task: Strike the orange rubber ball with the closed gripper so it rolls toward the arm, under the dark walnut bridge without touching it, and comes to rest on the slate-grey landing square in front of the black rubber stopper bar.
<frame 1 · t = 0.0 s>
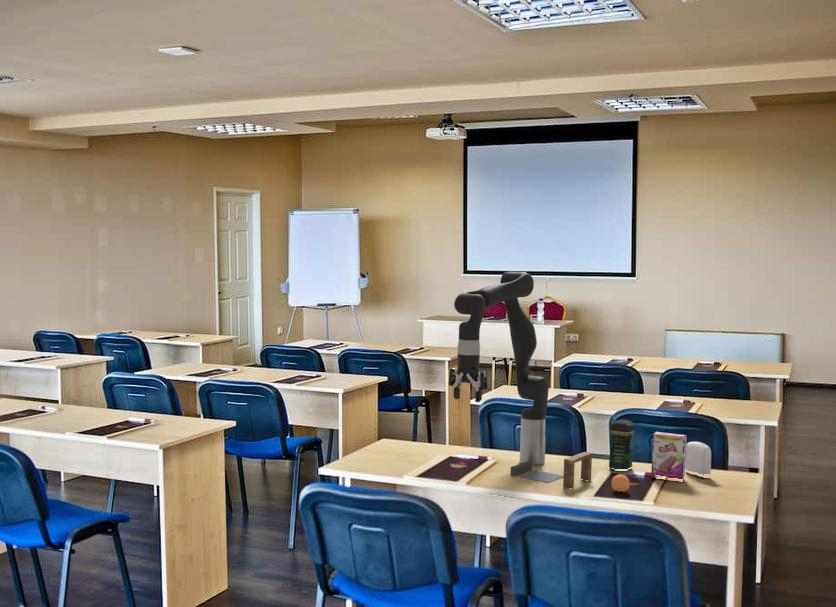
hand: (467, 400, 292), 29 cm above the table, tool pointing down, fingers open, 8 cm apart
candy bar box: (667, 480, 308), on the table
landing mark: (541, 476, 308), on the table
bridge: (577, 483, 299), on the table
coffee jar: (620, 470, 322), on the table
stopper bar: (521, 472, 313), on the table
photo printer: (697, 476, 315), on the table
ball: (620, 483, 289), on the table
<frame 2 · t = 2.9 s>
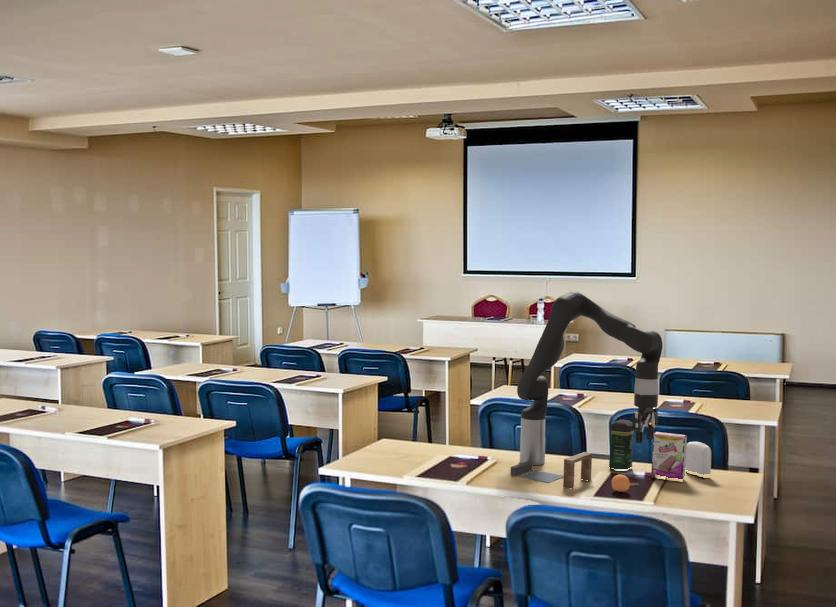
hand: (644, 441, 283), 19 cm above the table, tool pointing down, fingers open, 8 cm apart
nothing on the table moved.
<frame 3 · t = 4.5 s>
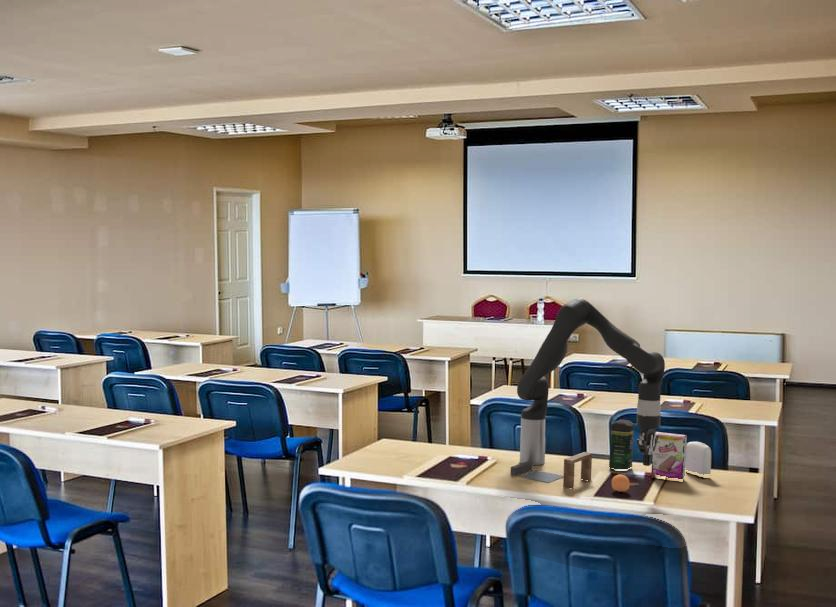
hand: (646, 465, 283), 11 cm above the table, tool pointing down, fingers closed
nothing on the table moved.
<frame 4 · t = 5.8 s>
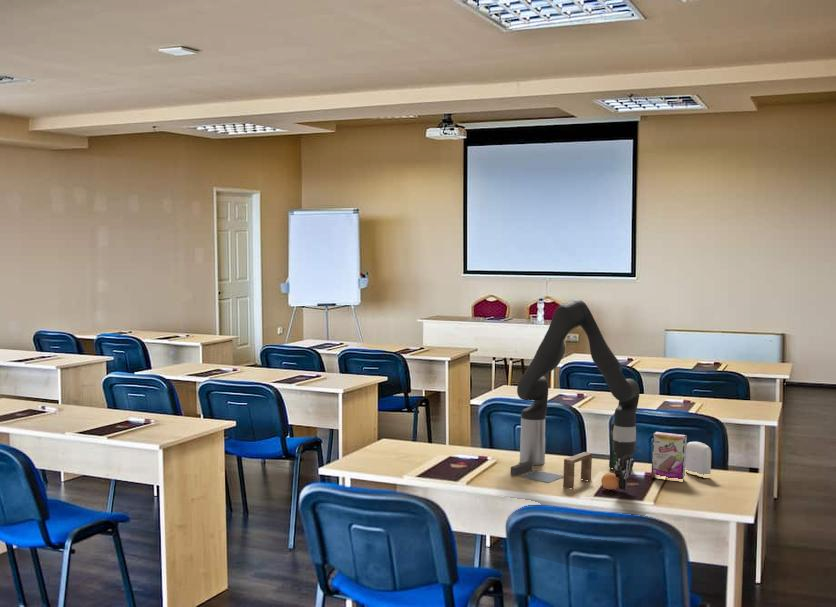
hand: (622, 489, 290), 1 cm above the table, tool pointing down, fingers closed
ball: (610, 481, 292), on the table
everything else where it was.
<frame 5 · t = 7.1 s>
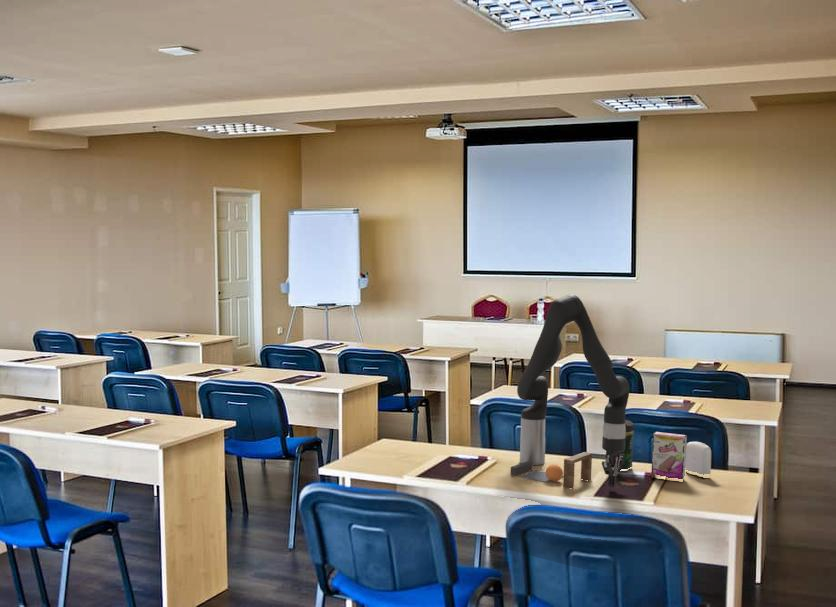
hand: (612, 486, 291), 2 cm above the table, tool pointing down, fingers closed
ball: (554, 473, 302), on the table
everything else where it was.
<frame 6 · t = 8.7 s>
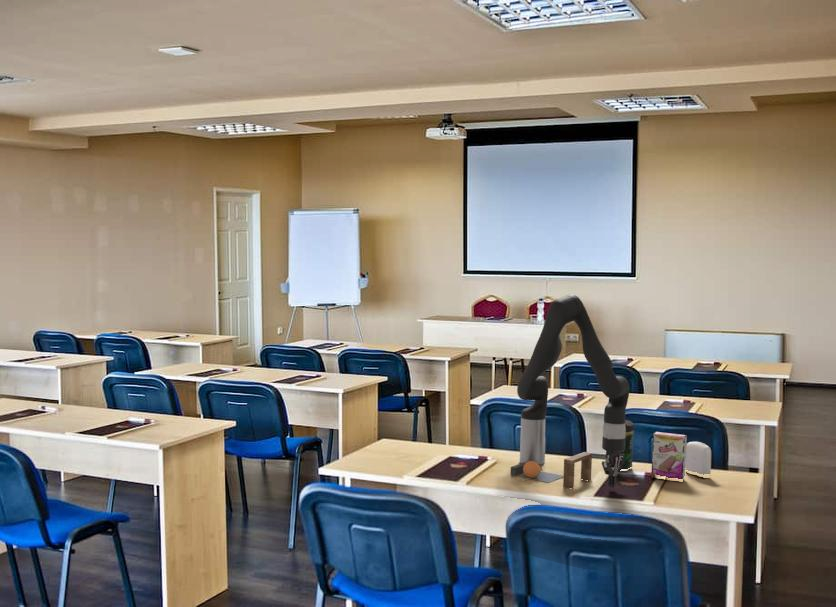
hand: (612, 486, 291), 2 cm above the table, tool pointing down, fingers closed
ball: (531, 469, 306), on the table
everything else where it was.
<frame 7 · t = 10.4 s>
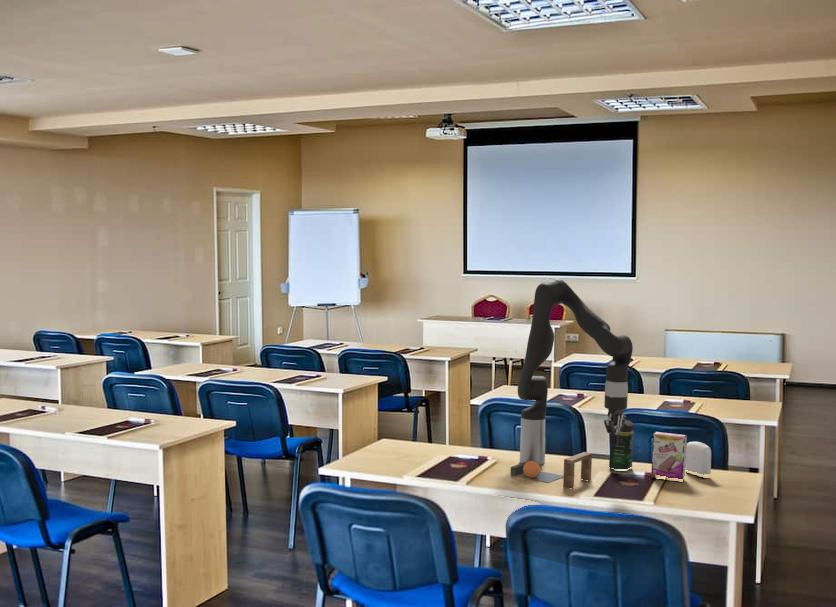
hand: (614, 445, 291), 16 cm above the table, tool pointing down, fingers closed
nothing on the table moved.
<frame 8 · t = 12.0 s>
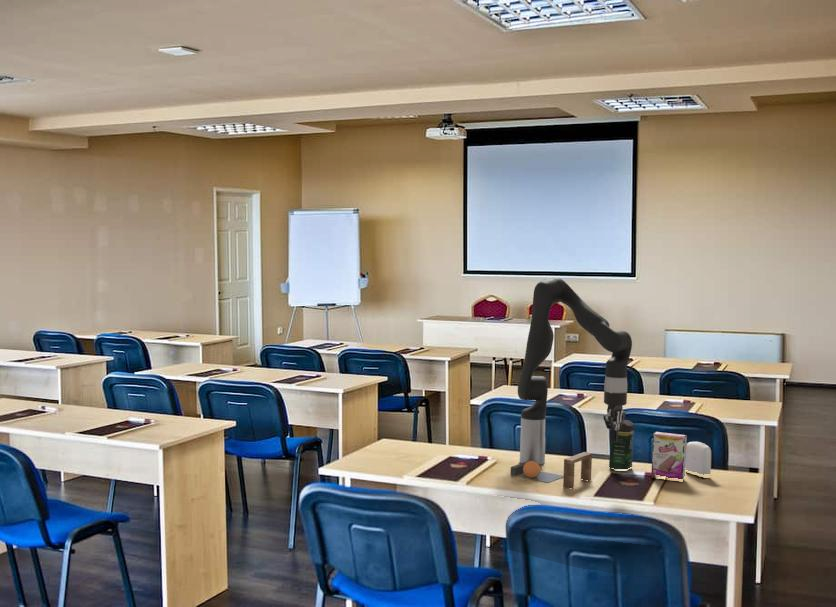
hand: (613, 441, 291), 17 cm above the table, tool pointing down, fingers closed
nothing on the table moved.
at the end: ball 4.5 cm from the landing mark (horizontally); ball never touched bridge; ball at rest at the end (0.0 cm/s) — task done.
